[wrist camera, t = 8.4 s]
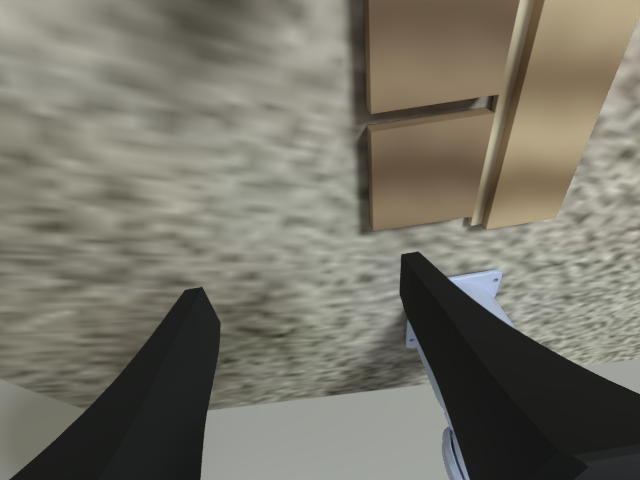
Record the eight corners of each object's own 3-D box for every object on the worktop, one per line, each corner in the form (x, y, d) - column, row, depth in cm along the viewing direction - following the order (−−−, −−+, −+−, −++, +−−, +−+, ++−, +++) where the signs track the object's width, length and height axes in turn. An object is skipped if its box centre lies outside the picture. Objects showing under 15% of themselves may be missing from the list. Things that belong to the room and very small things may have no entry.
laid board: (544, 209, 24) (555, 218, 23) (467, 222, 24) (475, 231, 23) (685, -160, 13) (718, -173, 12) (541, -139, 13) (563, -150, 12)
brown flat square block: (465, 207, 23) (472, 216, 22) (369, 221, 23) (373, 231, 22) (484, 107, 18) (495, 113, 18) (366, 125, 19) (371, 132, 18)
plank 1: (488, 89, 18) (499, 94, 17) (366, 107, 18) (371, 113, 17) (522, -85, 14) (539, -91, 13) (361, -60, 14) (367, -64, 13)
